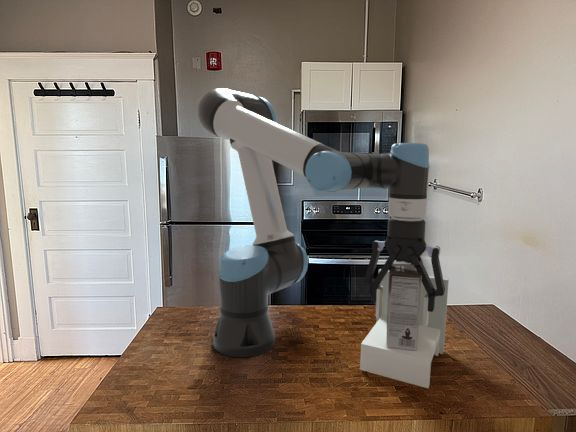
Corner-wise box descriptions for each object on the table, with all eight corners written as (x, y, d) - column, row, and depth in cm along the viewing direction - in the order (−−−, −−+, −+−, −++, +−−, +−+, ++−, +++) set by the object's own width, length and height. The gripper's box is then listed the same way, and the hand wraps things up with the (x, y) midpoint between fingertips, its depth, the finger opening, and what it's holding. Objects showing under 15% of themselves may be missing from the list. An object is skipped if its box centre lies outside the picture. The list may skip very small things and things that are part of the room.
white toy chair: (355, 368, 81) (358, 288, 79) (377, 336, 96) (380, 269, 94) (433, 389, 74) (439, 302, 71) (443, 351, 89) (448, 278, 86)
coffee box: (385, 329, 87) (389, 262, 85) (414, 332, 85) (418, 264, 83) (386, 347, 78) (389, 273, 76) (418, 351, 76) (423, 275, 74)
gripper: (350, 216, 80) (347, 316, 83) (462, 224, 70) (454, 338, 73) (361, 212, 87) (358, 305, 90) (465, 219, 76) (457, 324, 79)
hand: (401, 320), depth 81 cm, fingers open, 9 cm apart
